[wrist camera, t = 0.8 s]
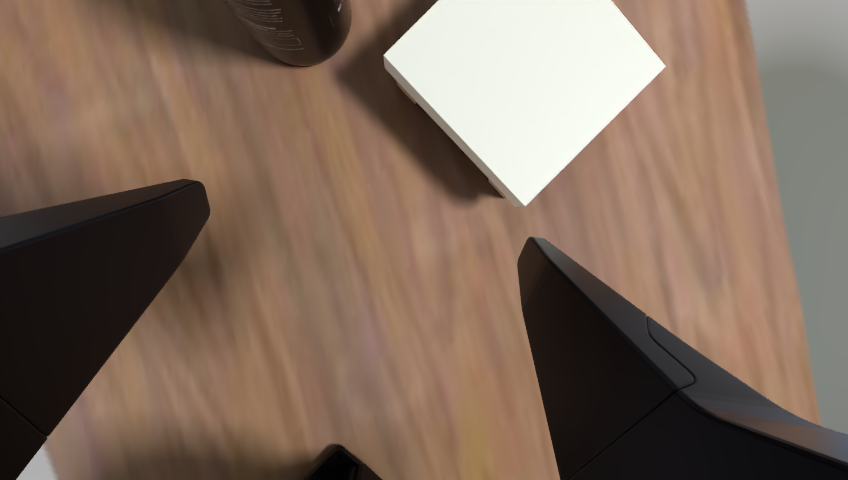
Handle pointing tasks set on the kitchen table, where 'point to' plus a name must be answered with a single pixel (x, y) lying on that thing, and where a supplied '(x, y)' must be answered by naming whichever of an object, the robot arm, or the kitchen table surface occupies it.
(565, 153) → the white square riser
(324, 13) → the supplement bottle
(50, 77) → the kitchen table surface
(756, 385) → the kitchen table surface
